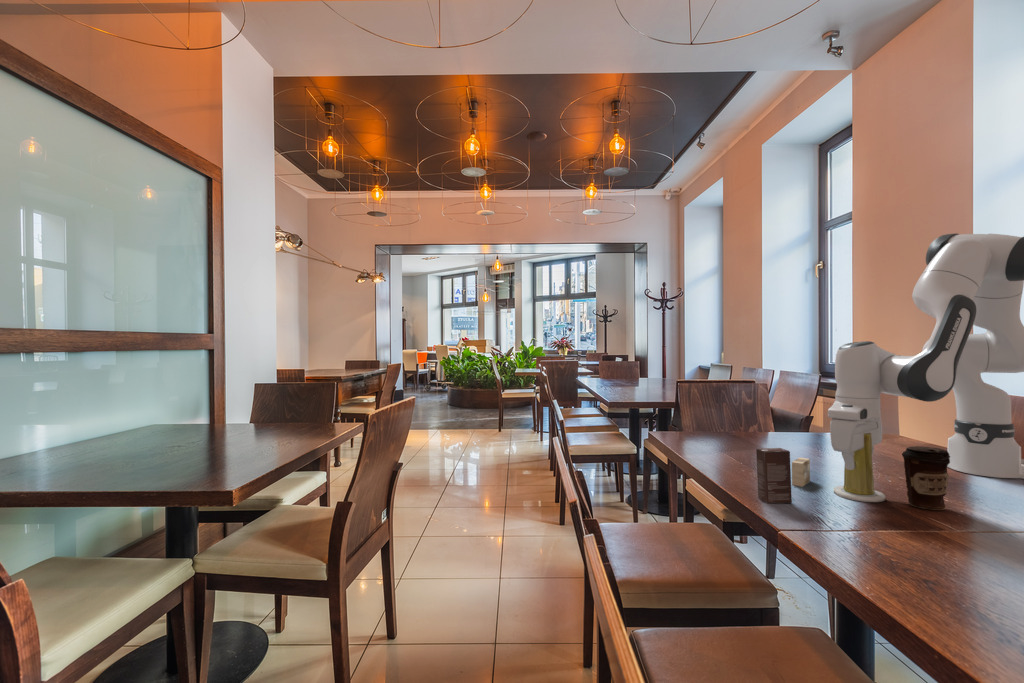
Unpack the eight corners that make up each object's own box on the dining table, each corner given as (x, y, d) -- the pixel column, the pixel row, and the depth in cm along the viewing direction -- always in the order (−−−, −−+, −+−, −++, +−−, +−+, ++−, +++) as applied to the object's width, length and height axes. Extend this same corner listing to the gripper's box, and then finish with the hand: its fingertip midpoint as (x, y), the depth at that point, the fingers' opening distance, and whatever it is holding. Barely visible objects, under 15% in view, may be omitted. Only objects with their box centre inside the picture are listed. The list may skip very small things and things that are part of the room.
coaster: (844, 486, 121) (843, 483, 121) (892, 496, 112) (891, 493, 112) (826, 494, 115) (826, 490, 115) (875, 505, 107) (875, 501, 107)
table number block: (799, 479, 128) (799, 457, 128) (810, 481, 126) (810, 458, 126) (792, 485, 123) (791, 462, 123) (803, 487, 121) (802, 463, 121)
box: (781, 497, 113) (780, 447, 113) (792, 503, 108) (791, 451, 109) (756, 497, 113) (755, 447, 113) (766, 503, 108) (765, 451, 109)
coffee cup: (963, 514, 100) (962, 453, 101) (918, 512, 102) (917, 452, 102) (935, 501, 109) (934, 445, 109) (894, 499, 111) (893, 444, 111)
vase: (881, 495, 111) (880, 434, 111) (854, 495, 111) (853, 434, 111) (862, 487, 117) (861, 430, 117) (837, 487, 117) (836, 430, 117)
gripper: (859, 404, 122) (860, 457, 122) (824, 411, 111) (825, 469, 111) (889, 406, 117) (890, 462, 117) (855, 414, 106) (856, 475, 106)
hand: (858, 466), depth 114 cm, fingers open, 8 cm apart
